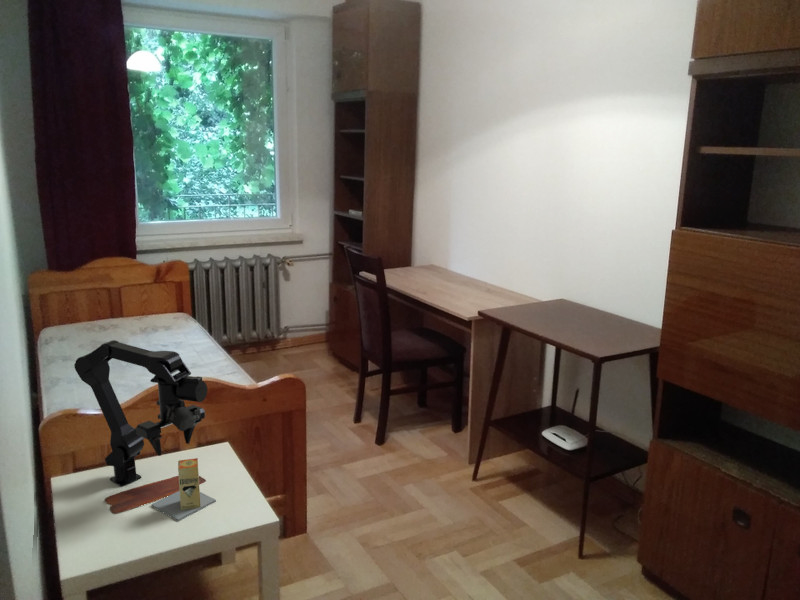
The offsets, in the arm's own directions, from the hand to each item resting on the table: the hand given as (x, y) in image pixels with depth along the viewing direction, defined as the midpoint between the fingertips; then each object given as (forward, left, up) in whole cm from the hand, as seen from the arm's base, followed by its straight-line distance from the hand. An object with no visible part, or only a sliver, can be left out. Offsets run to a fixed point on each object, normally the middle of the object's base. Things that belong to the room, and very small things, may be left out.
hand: (173, 449), depth 178 cm
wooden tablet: (-3, -4, -13) cm, 14 cm away
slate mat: (+9, -4, -12) cm, 16 cm away
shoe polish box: (+11, -3, -12) cm, 17 cm away
